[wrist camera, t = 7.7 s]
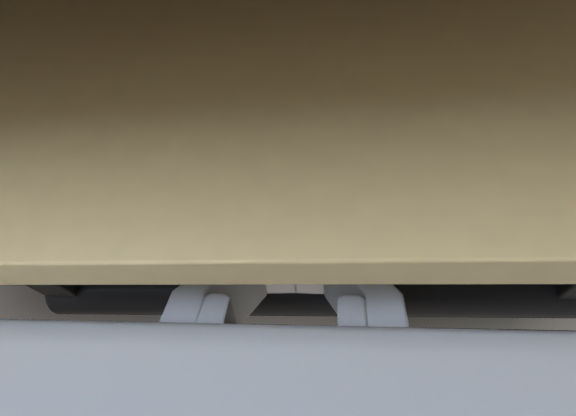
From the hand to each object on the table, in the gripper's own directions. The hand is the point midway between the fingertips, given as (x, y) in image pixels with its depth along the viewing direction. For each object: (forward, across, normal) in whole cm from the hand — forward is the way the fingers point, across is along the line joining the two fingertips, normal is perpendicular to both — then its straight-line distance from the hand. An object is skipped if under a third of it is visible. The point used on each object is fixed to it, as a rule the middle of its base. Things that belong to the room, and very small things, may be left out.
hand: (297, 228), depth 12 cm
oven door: (+11, 0, -6) cm, 12 cm away
